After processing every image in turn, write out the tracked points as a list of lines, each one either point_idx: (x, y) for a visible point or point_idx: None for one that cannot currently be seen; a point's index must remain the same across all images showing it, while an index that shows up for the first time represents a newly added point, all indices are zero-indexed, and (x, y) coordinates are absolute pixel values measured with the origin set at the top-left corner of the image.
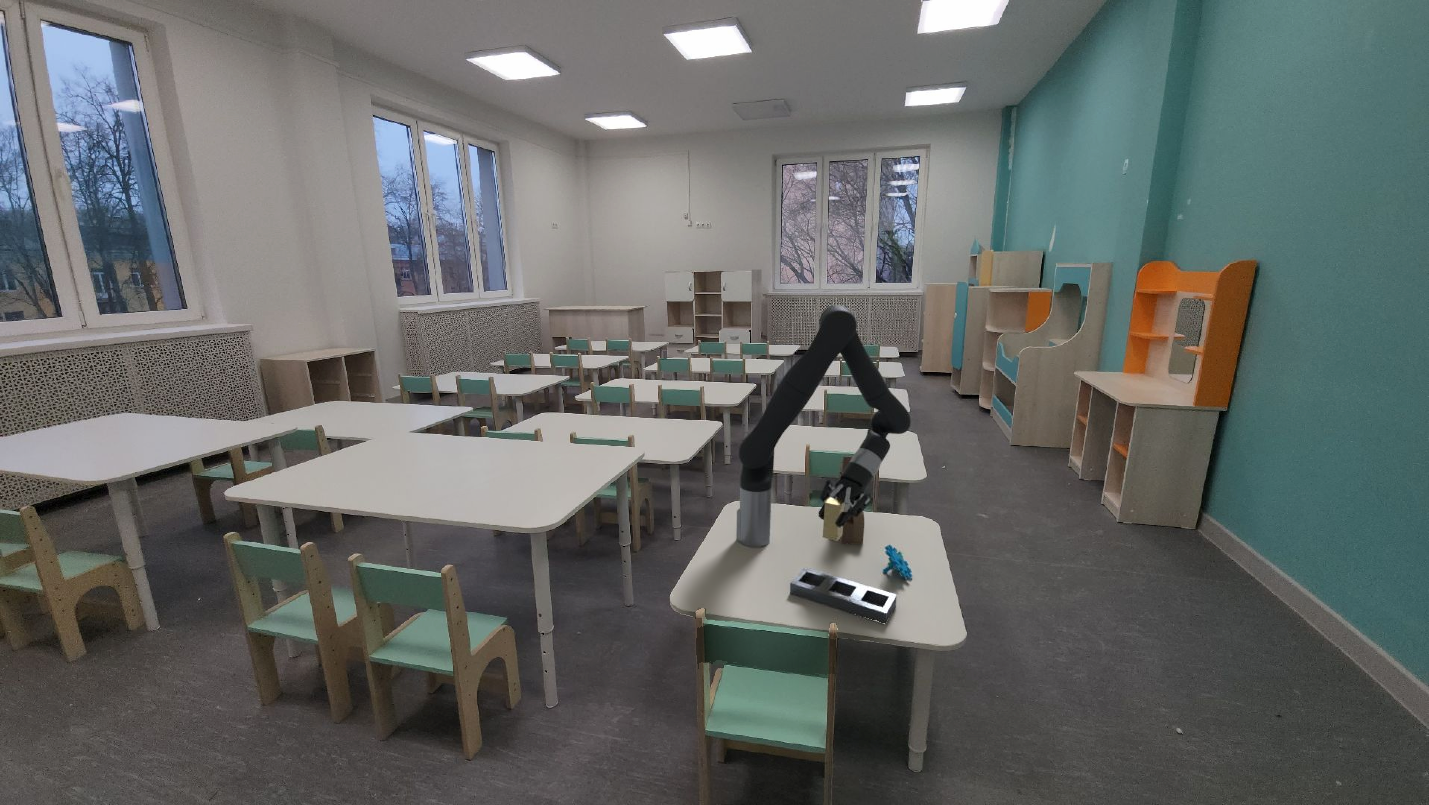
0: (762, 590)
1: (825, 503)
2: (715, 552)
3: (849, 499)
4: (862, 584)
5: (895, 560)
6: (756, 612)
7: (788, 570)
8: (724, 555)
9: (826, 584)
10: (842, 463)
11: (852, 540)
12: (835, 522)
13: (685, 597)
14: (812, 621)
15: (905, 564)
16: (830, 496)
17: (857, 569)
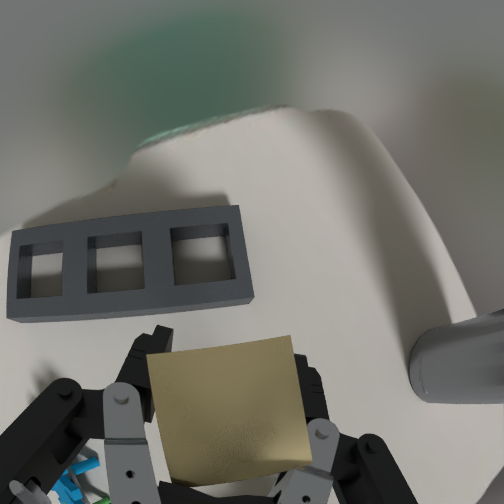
0: (288, 196)
1: (282, 338)
2: (444, 261)
3: (107, 471)
4: (79, 314)
5: None
6: (248, 135)
7: (300, 307)
8: (429, 263)
9: (157, 253)
10: None
11: None
12: (171, 330)
13: (359, 120)
14: (145, 166)
15: (54, 489)
16: (318, 471)
17: (156, 437)
